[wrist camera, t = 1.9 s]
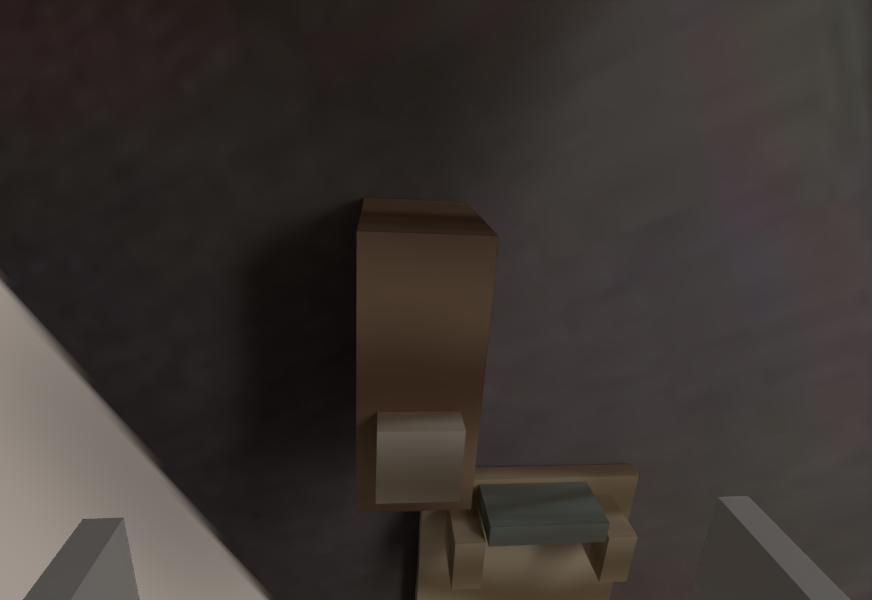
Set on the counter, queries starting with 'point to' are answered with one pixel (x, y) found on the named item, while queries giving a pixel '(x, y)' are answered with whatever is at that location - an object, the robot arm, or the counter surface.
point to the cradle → (531, 536)
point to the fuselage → (420, 352)
